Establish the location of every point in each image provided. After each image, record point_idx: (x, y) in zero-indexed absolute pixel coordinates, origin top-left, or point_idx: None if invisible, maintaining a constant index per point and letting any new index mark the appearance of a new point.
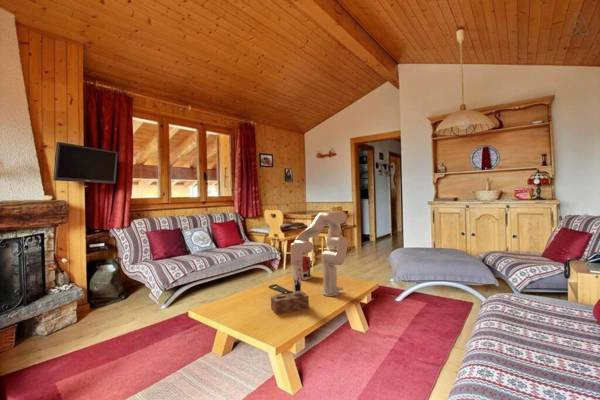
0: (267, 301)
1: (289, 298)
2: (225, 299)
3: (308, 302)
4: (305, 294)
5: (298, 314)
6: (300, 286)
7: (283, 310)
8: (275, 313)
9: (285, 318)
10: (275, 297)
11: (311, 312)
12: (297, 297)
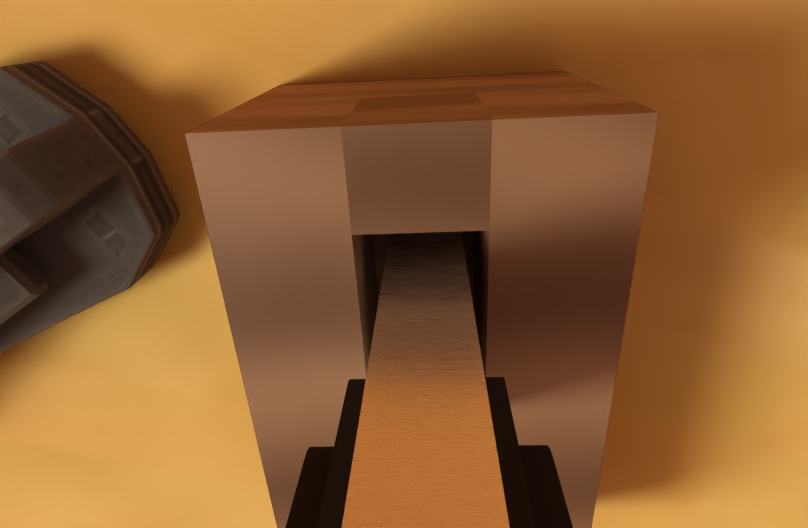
0: (101, 496)
1: None
2: None
3: (597, 89)
4: (488, 150)
5: (690, 299)
6: (496, 458)
7: None
8: None
9: (701, 457)
10: None
11: (752, 89)
12: (593, 391)
